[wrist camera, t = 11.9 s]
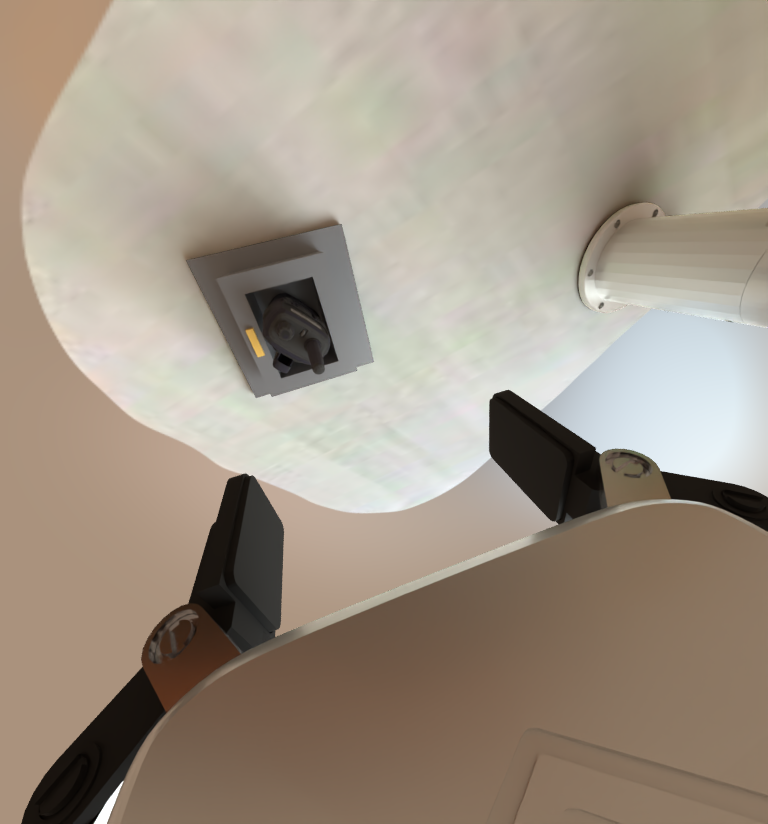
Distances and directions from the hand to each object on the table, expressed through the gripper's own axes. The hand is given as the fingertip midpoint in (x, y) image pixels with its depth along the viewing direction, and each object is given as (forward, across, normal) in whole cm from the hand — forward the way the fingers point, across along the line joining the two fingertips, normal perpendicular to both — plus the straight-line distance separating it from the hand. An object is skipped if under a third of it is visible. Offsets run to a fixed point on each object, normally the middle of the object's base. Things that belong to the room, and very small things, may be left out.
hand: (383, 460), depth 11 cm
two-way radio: (+24, +3, -1) cm, 24 cm away
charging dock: (+24, +3, -1) cm, 25 cm away
